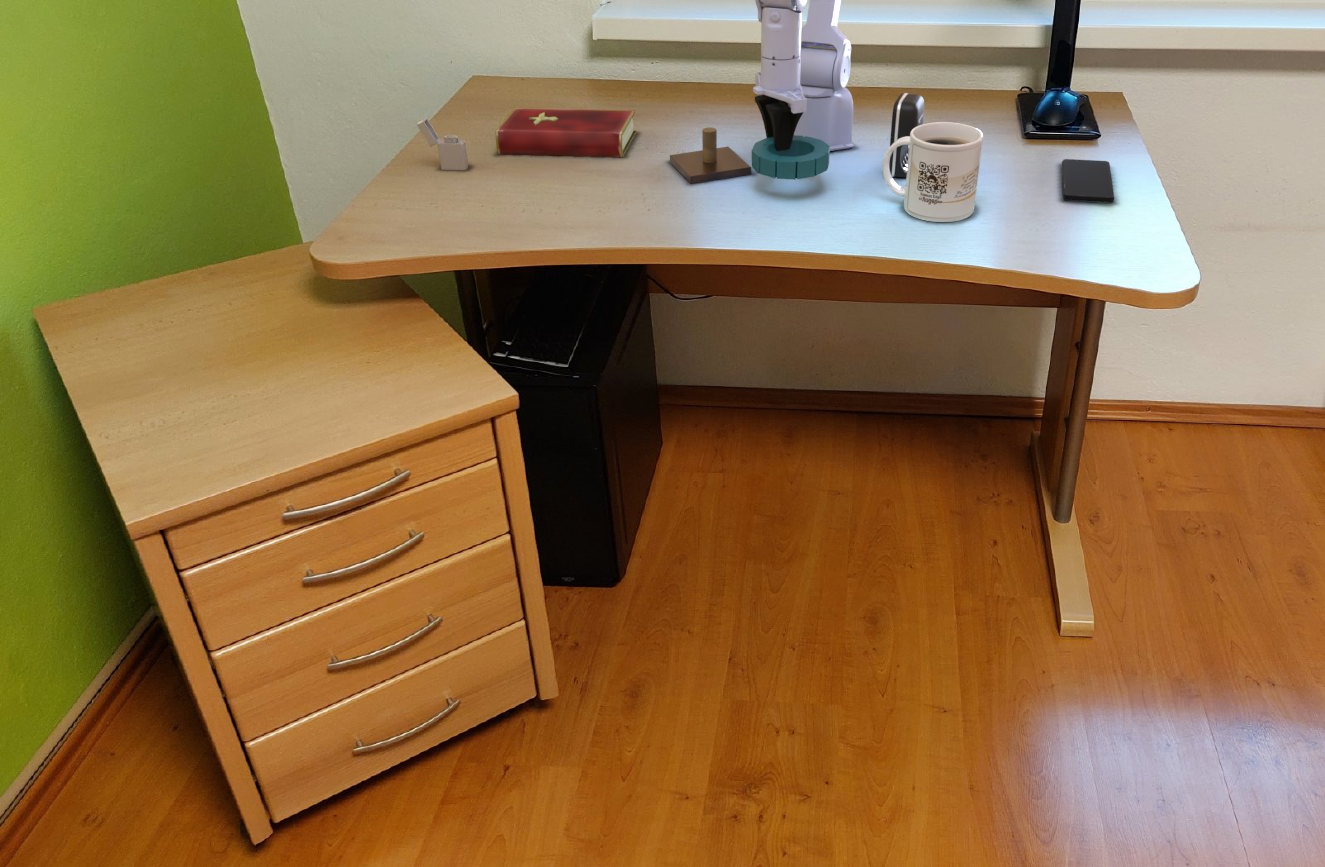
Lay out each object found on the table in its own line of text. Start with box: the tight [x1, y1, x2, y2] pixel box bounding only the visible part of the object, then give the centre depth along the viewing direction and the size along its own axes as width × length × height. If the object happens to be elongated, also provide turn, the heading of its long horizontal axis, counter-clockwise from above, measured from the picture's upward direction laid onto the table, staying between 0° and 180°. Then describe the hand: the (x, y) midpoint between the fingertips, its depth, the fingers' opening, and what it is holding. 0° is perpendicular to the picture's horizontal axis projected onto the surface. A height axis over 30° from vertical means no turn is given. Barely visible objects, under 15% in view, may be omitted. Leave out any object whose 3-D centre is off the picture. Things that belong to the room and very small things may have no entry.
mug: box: [881, 121, 984, 223], centre depth 160 cm, size 10×12×11 cm
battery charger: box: [889, 92, 925, 178], centre depth 171 cm, size 7×4×11 cm, turn 159°
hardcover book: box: [494, 107, 637, 158], centre depth 189 cm, size 12×21×4 cm, turn 80°
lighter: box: [416, 117, 469, 171], centre depth 180 cm, size 7×2×8 cm, turn 81°
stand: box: [669, 127, 752, 185], centre depth 177 cm, size 10×10×6 cm
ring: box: [751, 135, 831, 180], centre depth 167 cm, size 11×11×3 cm
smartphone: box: [1061, 158, 1115, 203], centre depth 167 cm, size 7×1×15 cm
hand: (778, 146), depth 171 cm, fingers closed on ring, 2 cm apart
